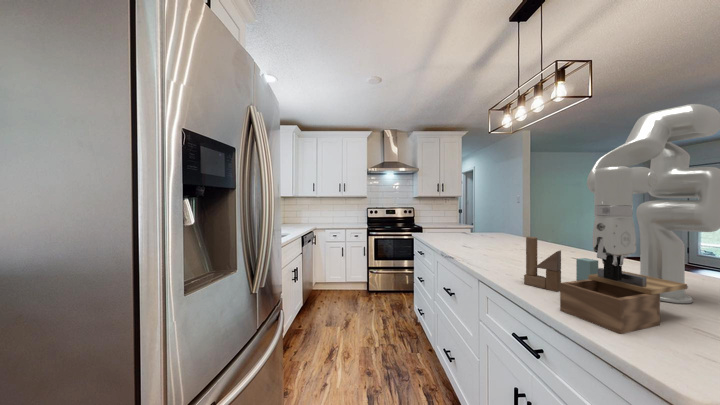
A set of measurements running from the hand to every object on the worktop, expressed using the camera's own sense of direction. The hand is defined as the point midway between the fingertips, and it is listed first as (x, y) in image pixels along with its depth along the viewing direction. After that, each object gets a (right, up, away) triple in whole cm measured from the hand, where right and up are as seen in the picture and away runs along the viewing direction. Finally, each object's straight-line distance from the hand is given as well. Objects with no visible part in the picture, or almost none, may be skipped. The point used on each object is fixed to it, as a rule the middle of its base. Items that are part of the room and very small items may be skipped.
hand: (612, 279), depth 72 cm
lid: (+9, -2, +3) cm, 9 cm away
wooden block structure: (-2, -10, +24) cm, 27 cm away
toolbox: (-2, -10, -1) cm, 10 cm away
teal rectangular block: (+7, -10, +16) cm, 20 cm away
